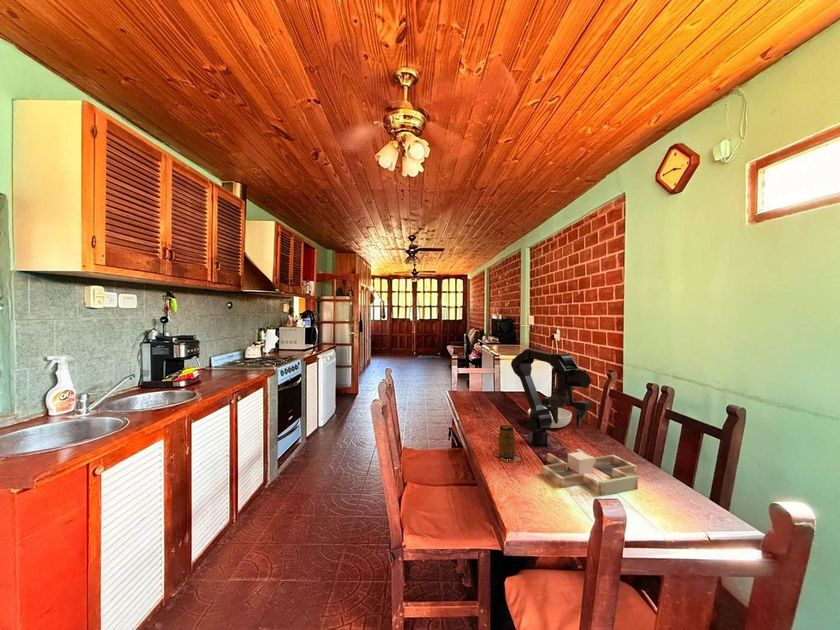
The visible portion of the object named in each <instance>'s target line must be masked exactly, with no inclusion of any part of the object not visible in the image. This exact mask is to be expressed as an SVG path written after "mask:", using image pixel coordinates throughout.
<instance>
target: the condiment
mask: <svg viewBox="0 0 840 630" xmlns="http://www.w3.org/2000/svg"><path fill="white" fill-rule="evenodd" d="M515 443H516V442H515V433H514V427H513V426H512V425H507V424H502V425H500V426H499V433H498V454H499V458H498V459H500V460H502V461H503V462H505V463H513V462H517V461H521V460H522V459H521V458H520V457H518V456H517V455H515V448H516V447H515ZM496 454H497V453H493V455H494V456H496V457H497V455H496ZM514 455H515V458H516V459H514ZM501 458H503V459H506V460H507V459H508V461H506V460H503V459H501ZM509 459H511V460H509ZM512 461H513V462H512Z"/></svg>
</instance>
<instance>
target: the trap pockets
mask: <svg viewBox="0 0 840 630" xmlns="http://www.w3.org/2000/svg"><path fill="white" fill-rule="evenodd" d="M594 457H595V456H594ZM595 459H597V460H596V461H597V462H596V463H597V464H596V465H597V466H595V467H594V468H595V469H597V470H599V471H600V472H602V473H604V474H606V475H607V476H610V477H611V478H613V477H612V468H616V470H617V469H618V470H620V471H622V472H624V473H626V474H628V475H630V476H632V475H635V476H638V465H636V464H633V462H629V461H627V460H626V459H623V458H621V457H619V456H617V455H615V454H609V455H603V456H596V457H595ZM564 462H565V461H564ZM564 462H563V463H557V464H551V463H549V464H545V465H541V475H542V476H544V477H545V478H547V479H548V480H549V481H551V482H552V483H553V484H555V485H557V487H560V488H561V489H564V488H569V487H574V486H575V487H576V486H580V485H584V484H583V475H584V474H585V473H584V474H582V473H581V474H579V473H576V474H573V473H572V472H570V471H569V470H567V471H565V464H566V463H567V462H566V463H564Z"/></svg>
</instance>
